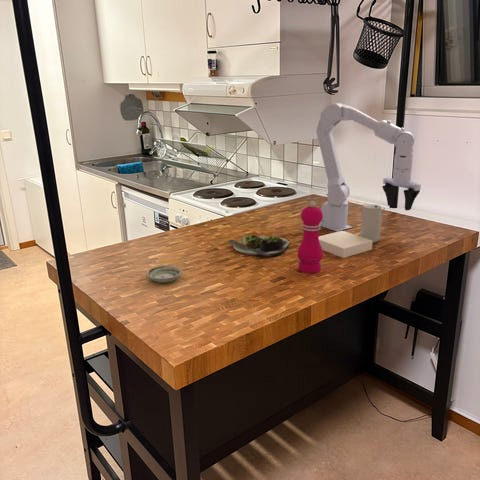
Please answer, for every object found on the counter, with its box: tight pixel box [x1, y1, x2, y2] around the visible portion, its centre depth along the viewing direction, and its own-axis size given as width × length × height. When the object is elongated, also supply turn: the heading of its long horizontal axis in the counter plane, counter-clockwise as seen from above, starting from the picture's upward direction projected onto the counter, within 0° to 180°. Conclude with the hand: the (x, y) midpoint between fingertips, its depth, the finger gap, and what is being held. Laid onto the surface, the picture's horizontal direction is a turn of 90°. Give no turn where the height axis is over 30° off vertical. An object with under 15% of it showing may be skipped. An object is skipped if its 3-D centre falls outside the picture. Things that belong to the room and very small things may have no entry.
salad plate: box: [227, 234, 291, 258], centre depth 153 cm, size 19×18×5 cm
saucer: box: [145, 265, 183, 284], centre depth 129 cm, size 10×10×2 cm
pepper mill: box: [296, 200, 324, 274], centre depth 132 cm, size 7×7×20 cm
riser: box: [318, 230, 373, 259], centre depth 152 cm, size 13×13×3 cm
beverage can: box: [359, 203, 383, 244], centre depth 158 cm, size 6×6×12 cm
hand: (399, 207), depth 163 cm, fingers open, 7 cm apart
